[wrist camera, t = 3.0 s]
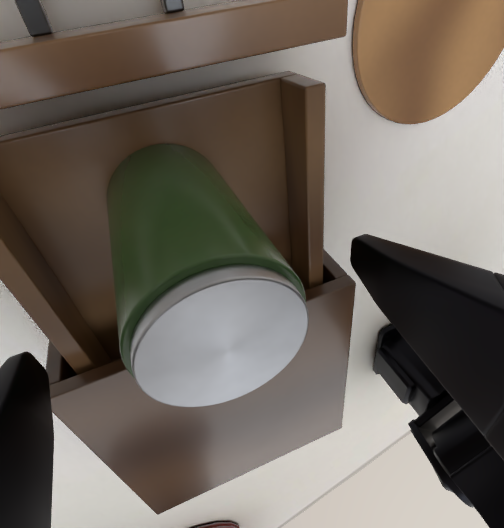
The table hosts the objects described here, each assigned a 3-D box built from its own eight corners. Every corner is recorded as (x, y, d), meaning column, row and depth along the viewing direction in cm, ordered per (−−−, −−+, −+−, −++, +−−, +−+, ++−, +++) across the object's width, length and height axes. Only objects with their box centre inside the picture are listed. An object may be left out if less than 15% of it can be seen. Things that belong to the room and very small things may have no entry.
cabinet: (50, 317, 17) (40, 402, 14) (307, 231, 20) (356, 282, 16) (148, 446, 27) (157, 515, 23) (310, 376, 30) (341, 428, 26)
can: (211, 129, 13) (316, 239, 7) (230, 230, 16) (316, 369, 10) (84, 161, 12) (81, 319, 6) (131, 262, 15) (159, 435, 9)
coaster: (558, -141, 13) (568, -145, 13) (486, 101, 19) (492, 103, 19) (360, -120, 12) (368, -123, 11) (346, 140, 17) (350, 143, 17)
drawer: (-275, -141, 7) (-470, -217, 5) (290, -178, 10) (359, -241, 7) (90, 359, 19) (90, 415, 16) (305, 281, 22) (333, 318, 19)
